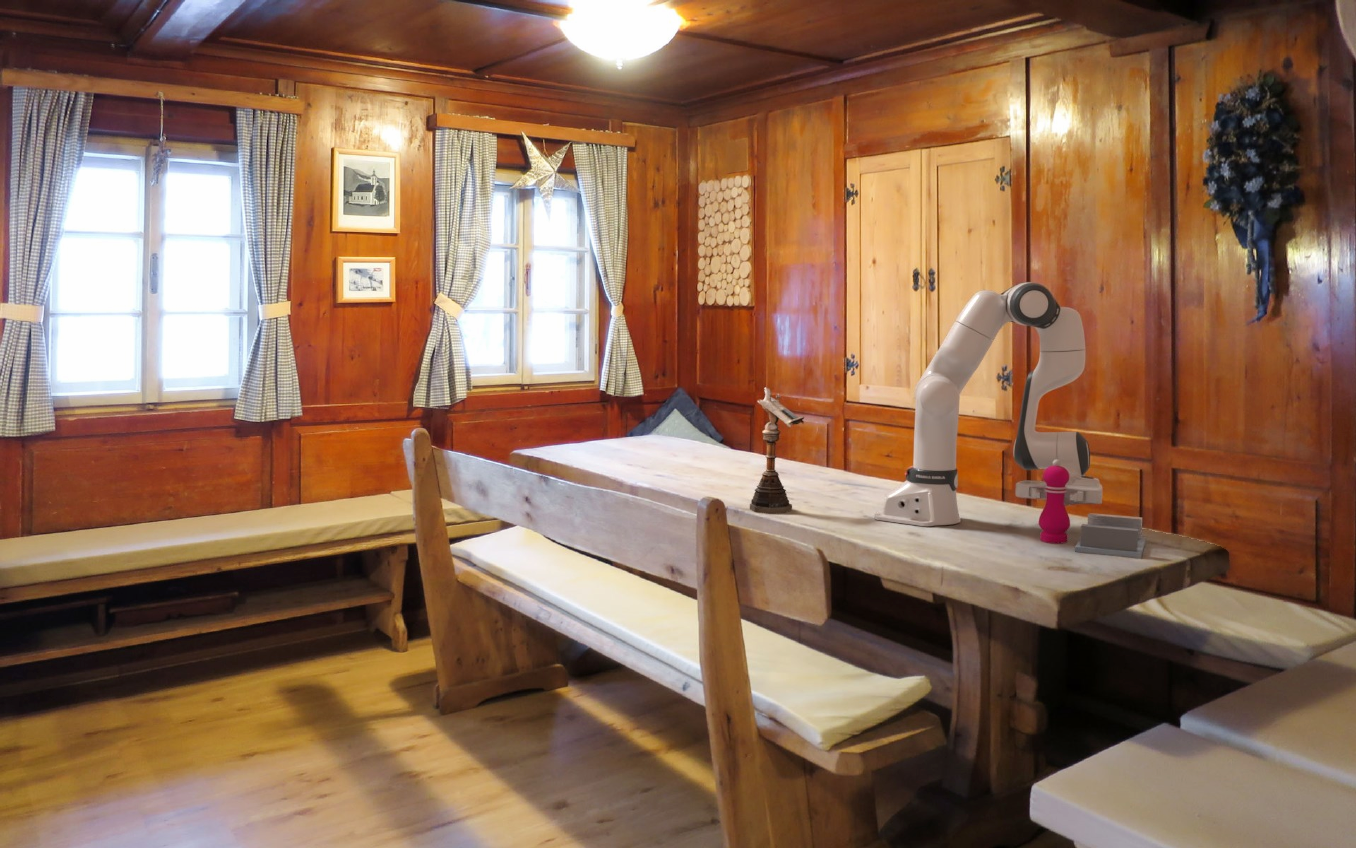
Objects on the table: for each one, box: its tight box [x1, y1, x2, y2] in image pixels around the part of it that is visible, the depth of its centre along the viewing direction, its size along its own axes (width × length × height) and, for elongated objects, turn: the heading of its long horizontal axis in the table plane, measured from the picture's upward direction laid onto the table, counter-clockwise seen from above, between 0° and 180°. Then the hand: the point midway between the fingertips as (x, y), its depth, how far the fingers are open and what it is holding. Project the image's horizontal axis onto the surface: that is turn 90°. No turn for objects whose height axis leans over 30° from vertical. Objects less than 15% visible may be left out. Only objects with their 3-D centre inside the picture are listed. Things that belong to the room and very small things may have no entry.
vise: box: [1074, 523, 1147, 559], centre depth 241 cm, size 14×20×6 cm
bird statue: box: [749, 387, 805, 515], centre depth 285 cm, size 17×13×35 cm
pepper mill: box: [1038, 460, 1071, 544], centre depth 247 cm, size 7×7×20 cm
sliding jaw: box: [1087, 512, 1143, 539], centre depth 247 cm, size 12×2×5 cm, turn 63°
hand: (1054, 496), depth 246 cm, fingers open, 7 cm apart
